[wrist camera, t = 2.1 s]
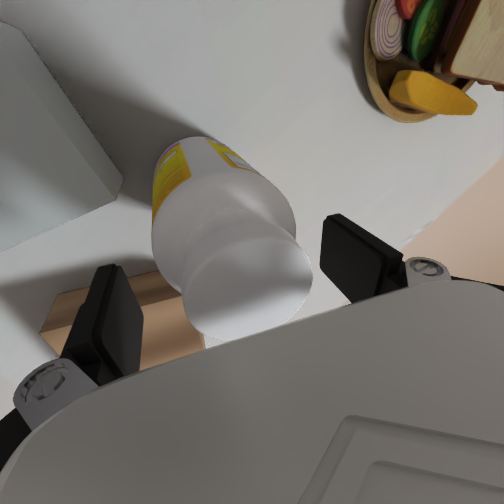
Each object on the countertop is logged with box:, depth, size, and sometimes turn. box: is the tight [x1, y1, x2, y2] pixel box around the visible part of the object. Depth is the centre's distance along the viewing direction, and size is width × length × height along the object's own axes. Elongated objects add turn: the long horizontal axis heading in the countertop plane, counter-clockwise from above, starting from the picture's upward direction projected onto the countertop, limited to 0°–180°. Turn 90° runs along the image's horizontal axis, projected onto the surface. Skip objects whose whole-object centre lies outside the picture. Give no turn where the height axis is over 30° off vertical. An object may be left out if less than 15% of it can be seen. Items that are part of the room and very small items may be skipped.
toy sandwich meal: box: [364, 0, 504, 123], centre depth 16 cm, size 12×14×5 cm
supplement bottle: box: [151, 136, 313, 341], centre depth 14 cm, size 7×7×13 cm
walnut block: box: [39, 271, 206, 371], centre depth 22 cm, size 10×10×4 cm
